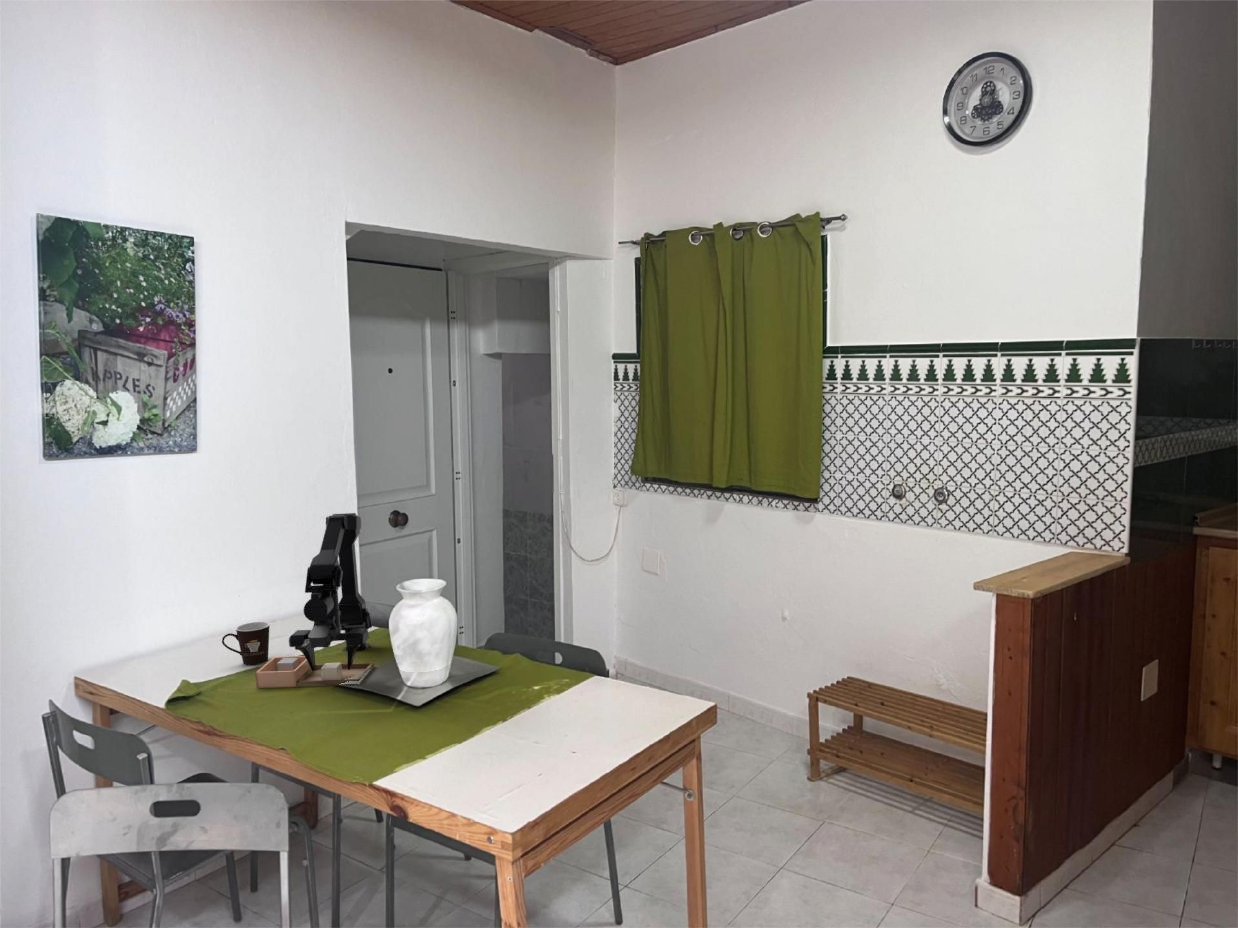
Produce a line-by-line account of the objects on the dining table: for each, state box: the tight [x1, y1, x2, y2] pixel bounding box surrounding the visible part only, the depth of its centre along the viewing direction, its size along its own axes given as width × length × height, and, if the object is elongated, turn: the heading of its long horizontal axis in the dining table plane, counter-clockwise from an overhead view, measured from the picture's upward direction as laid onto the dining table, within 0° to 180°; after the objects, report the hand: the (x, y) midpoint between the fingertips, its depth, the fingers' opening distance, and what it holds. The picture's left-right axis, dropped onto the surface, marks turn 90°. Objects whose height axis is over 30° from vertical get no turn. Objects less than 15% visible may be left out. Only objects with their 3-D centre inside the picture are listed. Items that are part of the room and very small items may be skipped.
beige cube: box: [321, 662, 343, 680], centre depth 229 cm, size 4×4×4 cm
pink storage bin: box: [255, 655, 310, 689], centre depth 231 cm, size 12×10×4 cm
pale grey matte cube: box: [277, 658, 299, 671], centre depth 234 cm, size 4×4×4 cm
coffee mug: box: [221, 621, 270, 666], centre depth 248 cm, size 12×9×10 cm
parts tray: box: [296, 662, 375, 688], centre depth 232 cm, size 13×16×2 cm
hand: (331, 669), depth 229 cm, fingers open, 9 cm apart
